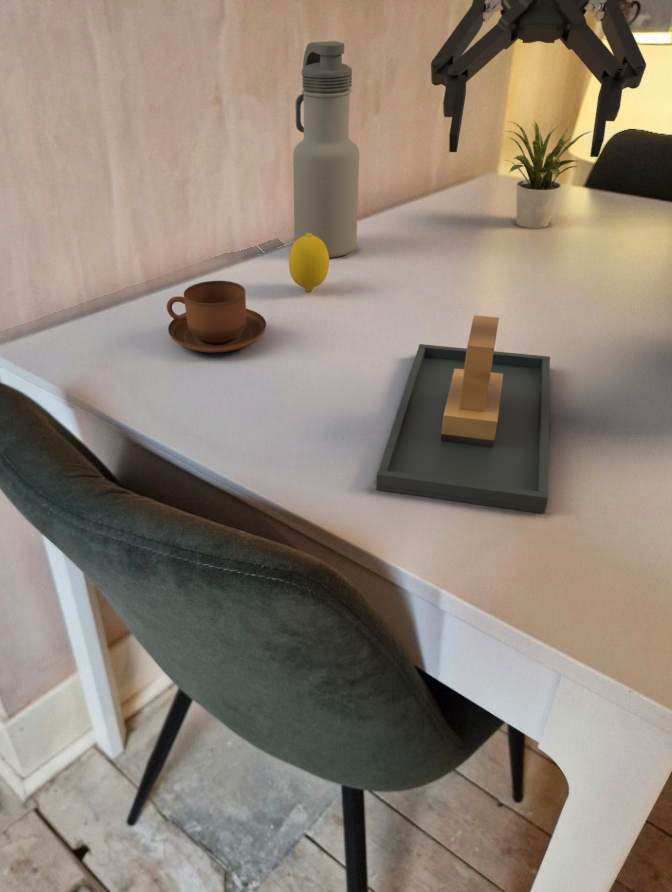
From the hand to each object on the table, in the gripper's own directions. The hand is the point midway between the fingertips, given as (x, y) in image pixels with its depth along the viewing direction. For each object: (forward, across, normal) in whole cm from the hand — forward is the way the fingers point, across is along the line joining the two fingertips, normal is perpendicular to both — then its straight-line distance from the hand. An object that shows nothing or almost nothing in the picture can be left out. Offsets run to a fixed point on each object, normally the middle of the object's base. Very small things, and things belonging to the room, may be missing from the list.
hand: (523, 146), depth 74 cm
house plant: (-22, -2, -55) cm, 59 cm away
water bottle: (-8, +28, -41) cm, 50 cm away
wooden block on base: (+26, +1, -6) cm, 27 cm away
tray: (+27, +1, -6) cm, 27 cm away
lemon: (+5, +26, -28) cm, 38 cm away
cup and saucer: (+17, +33, -15) cm, 40 cm away
